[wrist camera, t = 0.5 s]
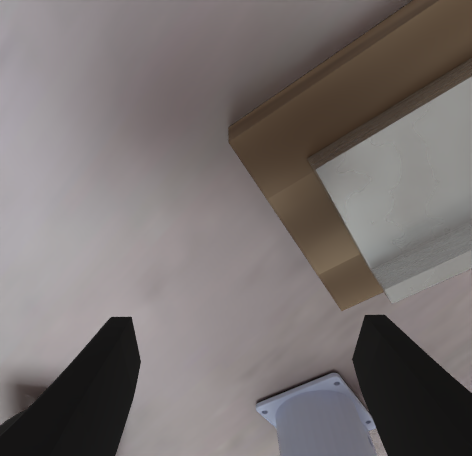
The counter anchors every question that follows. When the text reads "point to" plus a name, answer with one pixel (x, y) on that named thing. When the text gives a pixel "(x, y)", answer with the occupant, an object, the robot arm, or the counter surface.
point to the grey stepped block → (408, 186)
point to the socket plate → (345, 128)
